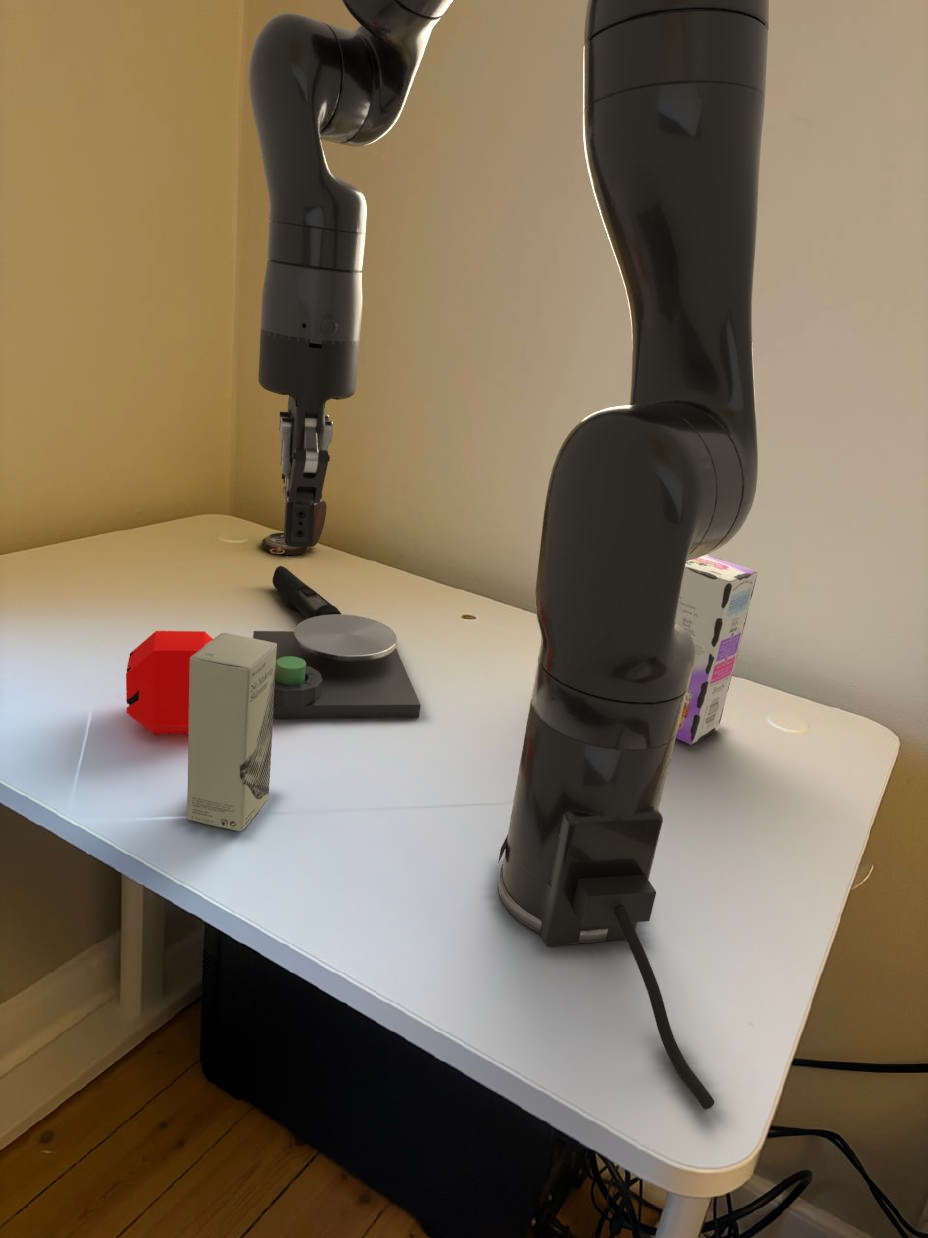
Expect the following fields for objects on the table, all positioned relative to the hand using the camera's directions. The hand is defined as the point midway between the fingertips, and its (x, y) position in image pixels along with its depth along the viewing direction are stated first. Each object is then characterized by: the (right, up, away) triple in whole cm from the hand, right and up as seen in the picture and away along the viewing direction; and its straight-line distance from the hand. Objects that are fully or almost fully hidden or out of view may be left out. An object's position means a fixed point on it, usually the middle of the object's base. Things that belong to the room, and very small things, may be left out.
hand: (297, 543), depth 77 cm
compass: (-9, +2, +44) cm, 45 cm away
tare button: (-2, -12, +5) cm, 13 cm away
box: (-3, -20, -9) cm, 23 cm away
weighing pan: (+2, -8, +13) cm, 16 cm away
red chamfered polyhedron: (-10, -15, +1) cm, 18 cm away
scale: (+1, -12, +12) cm, 17 cm away
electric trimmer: (-4, -6, +26) cm, 27 cm away
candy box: (+32, -15, +14) cm, 38 cm away
